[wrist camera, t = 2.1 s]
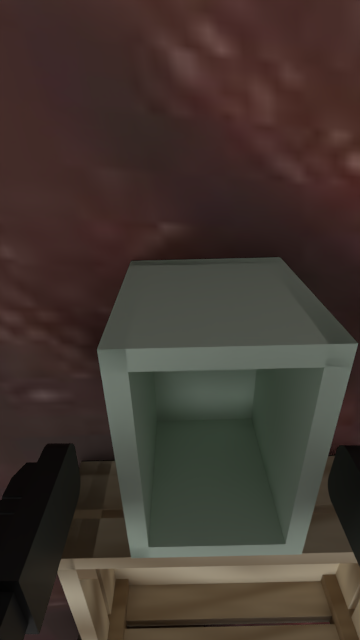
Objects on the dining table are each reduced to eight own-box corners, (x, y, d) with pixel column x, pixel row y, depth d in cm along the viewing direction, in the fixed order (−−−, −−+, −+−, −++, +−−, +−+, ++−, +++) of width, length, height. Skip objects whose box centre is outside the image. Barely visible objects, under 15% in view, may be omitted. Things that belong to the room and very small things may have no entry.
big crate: (81, 461, 17) (52, 559, 13) (382, 454, 17) (445, 550, 13) (108, 578, 23) (93, 672, 19) (337, 572, 23) (372, 666, 19)
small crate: (130, 260, 12) (96, 349, 7) (279, 257, 12) (358, 343, 7) (145, 421, 16) (131, 558, 11) (260, 418, 16) (301, 554, 11)
